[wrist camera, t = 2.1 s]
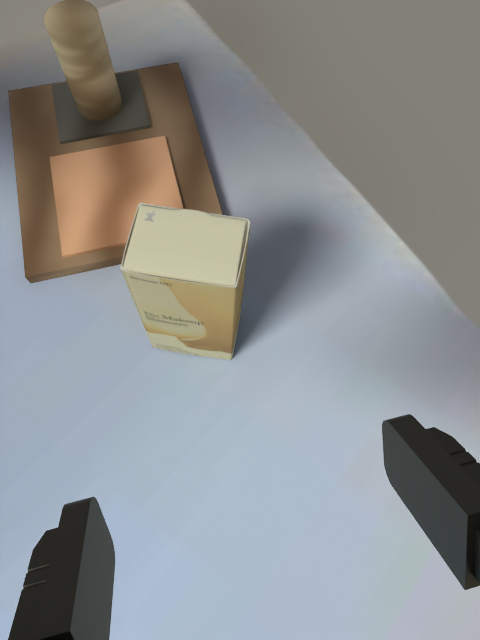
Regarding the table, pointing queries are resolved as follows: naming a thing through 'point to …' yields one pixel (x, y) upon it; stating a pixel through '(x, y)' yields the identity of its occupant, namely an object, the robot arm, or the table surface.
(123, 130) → the board
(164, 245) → the skincare box
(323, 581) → the table surface
